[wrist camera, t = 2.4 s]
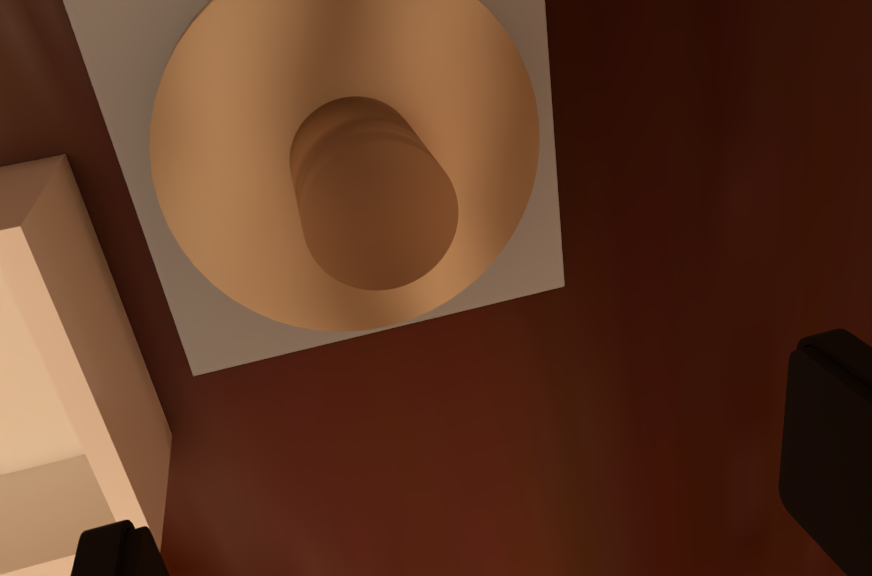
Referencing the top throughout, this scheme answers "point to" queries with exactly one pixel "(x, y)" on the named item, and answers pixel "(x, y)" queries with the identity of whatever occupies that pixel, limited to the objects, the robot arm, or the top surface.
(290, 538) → the top surface
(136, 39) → the mat
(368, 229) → the lid
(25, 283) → the small beige box
